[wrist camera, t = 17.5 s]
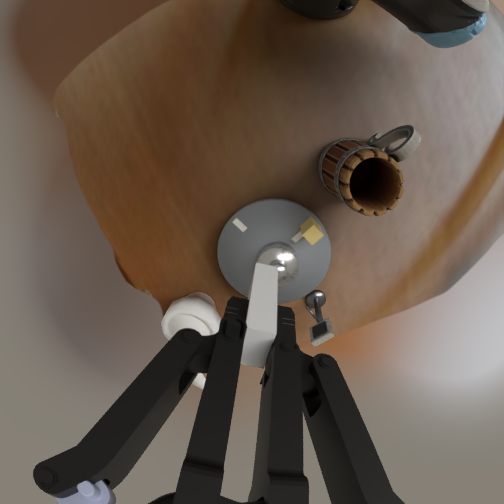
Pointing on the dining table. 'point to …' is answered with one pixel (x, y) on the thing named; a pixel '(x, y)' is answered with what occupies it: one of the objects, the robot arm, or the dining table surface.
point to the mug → (368, 170)
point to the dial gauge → (319, 318)
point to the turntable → (274, 230)
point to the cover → (280, 260)
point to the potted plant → (192, 320)
